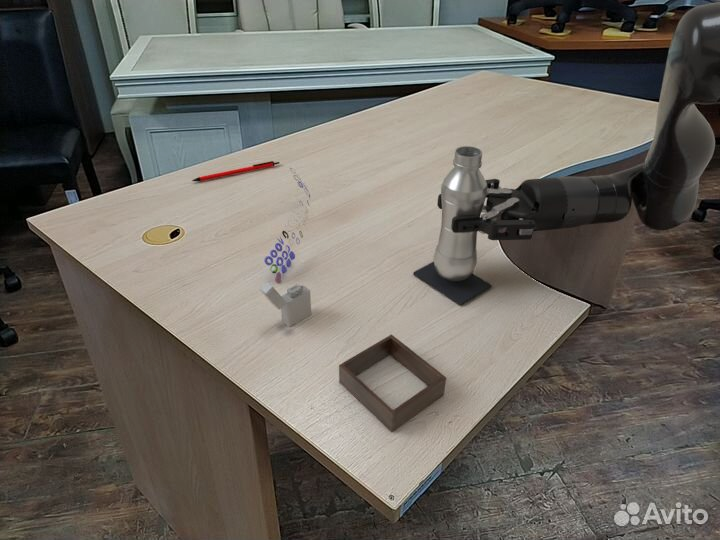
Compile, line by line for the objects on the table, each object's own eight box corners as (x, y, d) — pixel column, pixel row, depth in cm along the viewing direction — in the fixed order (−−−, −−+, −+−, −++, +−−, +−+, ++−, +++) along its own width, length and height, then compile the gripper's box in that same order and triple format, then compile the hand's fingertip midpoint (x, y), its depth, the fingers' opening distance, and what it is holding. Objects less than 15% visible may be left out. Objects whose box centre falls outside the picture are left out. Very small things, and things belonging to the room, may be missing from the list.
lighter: (304, 308, 76) (301, 263, 72) (312, 314, 75) (309, 268, 71) (263, 330, 73) (257, 284, 68) (271, 337, 72) (265, 290, 67)
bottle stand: (444, 394, 64) (446, 377, 62) (391, 432, 59) (392, 415, 57) (390, 350, 70) (391, 334, 68) (339, 382, 65) (338, 365, 63)
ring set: (318, 297, 82) (288, 244, 74) (254, 301, 86) (219, 251, 78) (352, 195, 98) (330, 142, 90) (296, 202, 102) (271, 153, 95)
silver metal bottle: (473, 262, 84) (490, 142, 72) (476, 288, 78) (496, 163, 67) (432, 260, 84) (443, 140, 73) (432, 285, 79) (444, 161, 67)
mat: (491, 287, 81) (492, 284, 80) (461, 306, 77) (461, 303, 77) (443, 258, 87) (443, 255, 87) (413, 274, 83) (413, 271, 83)
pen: (280, 165, 115) (279, 160, 114) (192, 183, 108) (191, 178, 107) (278, 163, 116) (278, 159, 115) (191, 181, 108) (190, 176, 108)
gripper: (539, 159, 80) (433, 166, 78) (588, 204, 69) (464, 215, 67) (530, 202, 85) (429, 211, 82) (574, 251, 73) (458, 263, 71)
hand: (445, 212), depth 74 cm, fingers closed on silver metal bottle, 6 cm apart
